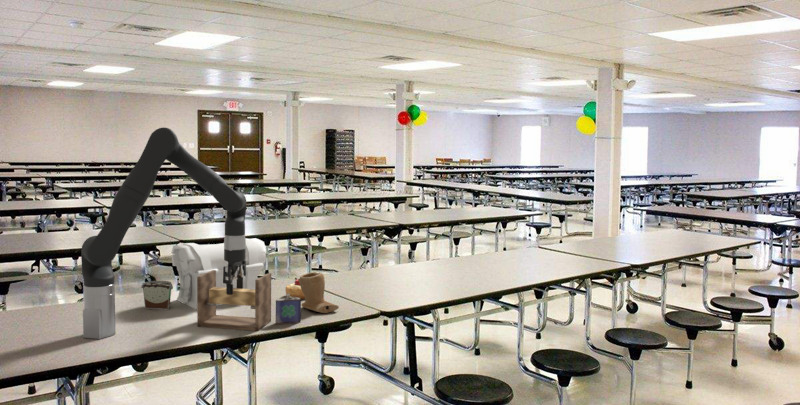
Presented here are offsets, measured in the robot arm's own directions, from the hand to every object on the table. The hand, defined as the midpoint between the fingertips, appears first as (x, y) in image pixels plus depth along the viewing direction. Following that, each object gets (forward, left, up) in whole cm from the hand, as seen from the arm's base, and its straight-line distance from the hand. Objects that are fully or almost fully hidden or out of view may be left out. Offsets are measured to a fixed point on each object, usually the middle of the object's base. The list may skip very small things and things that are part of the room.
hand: (234, 291), depth 219 cm
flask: (+6, -18, -12) cm, 23 cm away
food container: (+15, +38, -12) cm, 43 cm away
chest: (+32, +20, -12) cm, 39 cm away
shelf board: (0, 0, -4) cm, 4 cm away
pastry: (+44, -10, -12) cm, 47 cm away
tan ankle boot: (+25, -23, -12) cm, 36 cm away
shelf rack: (0, 0, -12) cm, 12 cm away
